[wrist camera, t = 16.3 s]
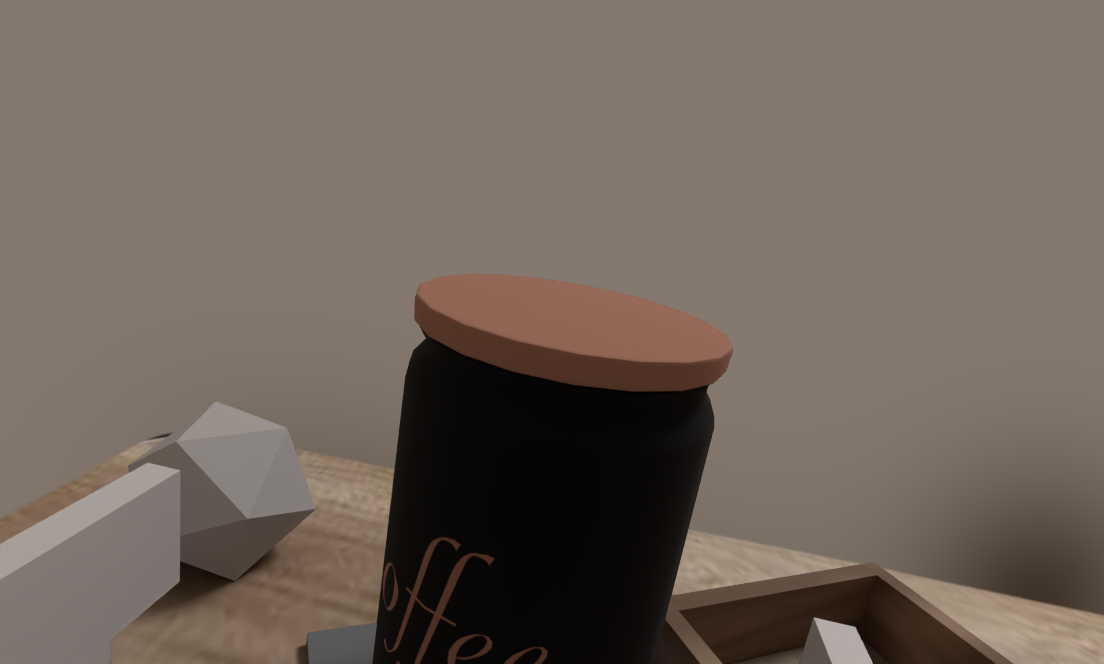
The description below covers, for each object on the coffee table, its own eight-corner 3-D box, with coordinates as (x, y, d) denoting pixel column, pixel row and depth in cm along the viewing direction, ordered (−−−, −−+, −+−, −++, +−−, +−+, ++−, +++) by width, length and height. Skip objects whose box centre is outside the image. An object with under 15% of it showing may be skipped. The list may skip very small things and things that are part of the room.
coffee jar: (328, 679, 26) (367, 266, 22) (534, 609, 32) (597, 278, 28) (431, 948, 18) (528, 371, 13) (680, 784, 24) (802, 354, 20)
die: (180, 508, 38) (75, 424, 30) (314, 440, 40) (247, 347, 33) (203, 628, 33) (84, 562, 25) (354, 542, 35) (285, 460, 28)
